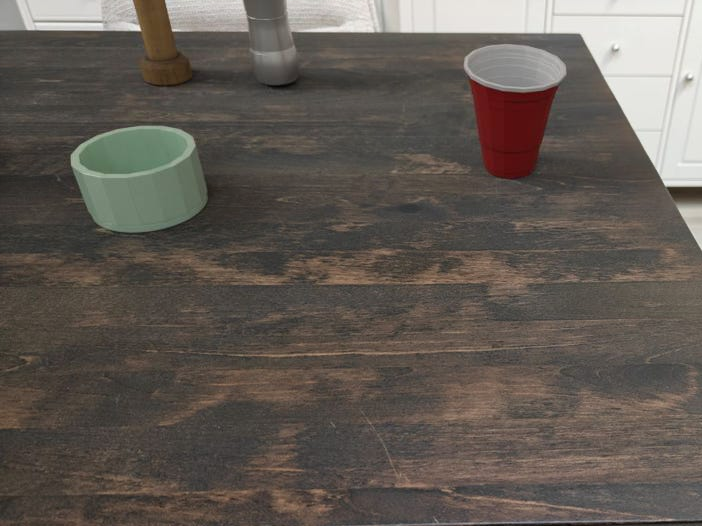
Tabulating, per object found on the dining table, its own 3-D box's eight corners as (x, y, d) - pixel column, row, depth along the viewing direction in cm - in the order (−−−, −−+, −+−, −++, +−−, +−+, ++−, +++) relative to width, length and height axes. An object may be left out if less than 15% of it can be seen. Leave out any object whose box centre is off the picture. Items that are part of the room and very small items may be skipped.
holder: (124, 246, 72) (104, 190, 68) (71, 203, 78) (50, 149, 74) (229, 204, 78) (217, 150, 74) (173, 167, 84) (159, 116, 80)
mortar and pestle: (202, 73, 105) (170, -70, 94) (170, 89, 101) (132, -60, 89) (166, 66, 107) (129, -76, 96) (133, 81, 103) (90, -66, 91)
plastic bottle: (280, 94, 100) (252, -74, 87) (243, 84, 103) (211, -82, 90) (312, 79, 104) (290, -84, 91) (276, 70, 107) (250, -90, 94)
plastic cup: (494, 199, 79) (498, 88, 72) (446, 159, 86) (444, 53, 79) (576, 176, 84) (588, 68, 76) (524, 139, 91) (530, 37, 83)
